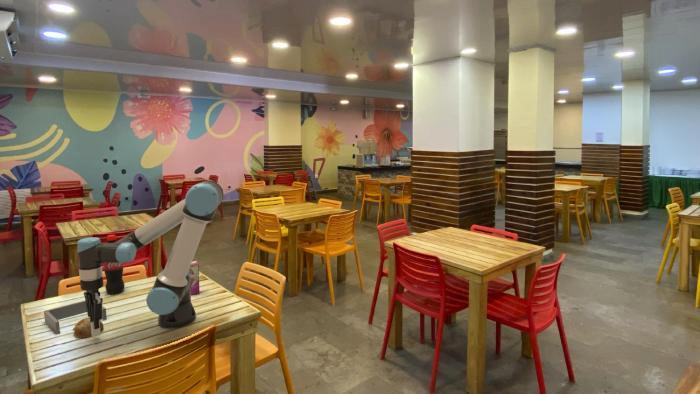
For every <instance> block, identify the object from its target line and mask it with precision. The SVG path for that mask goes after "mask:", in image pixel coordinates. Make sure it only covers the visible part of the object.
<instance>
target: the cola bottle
mask: <svg viewBox="0 0 700 394" xmlns="http://www.w3.org/2000/svg"><path fill="white" fill-rule="evenodd" d="M106 241H107V243H115V242H117V236H116V234H108V235H106ZM123 265H124V263H103V268H104V269H103V271H104V276H105V279H106V282H105V283H106V284H105V292H106V293H107V294H108V295H119V294H121V293H123V292H124V289H125V282H124V279H123V273H124V266H123Z"/></svg>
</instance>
